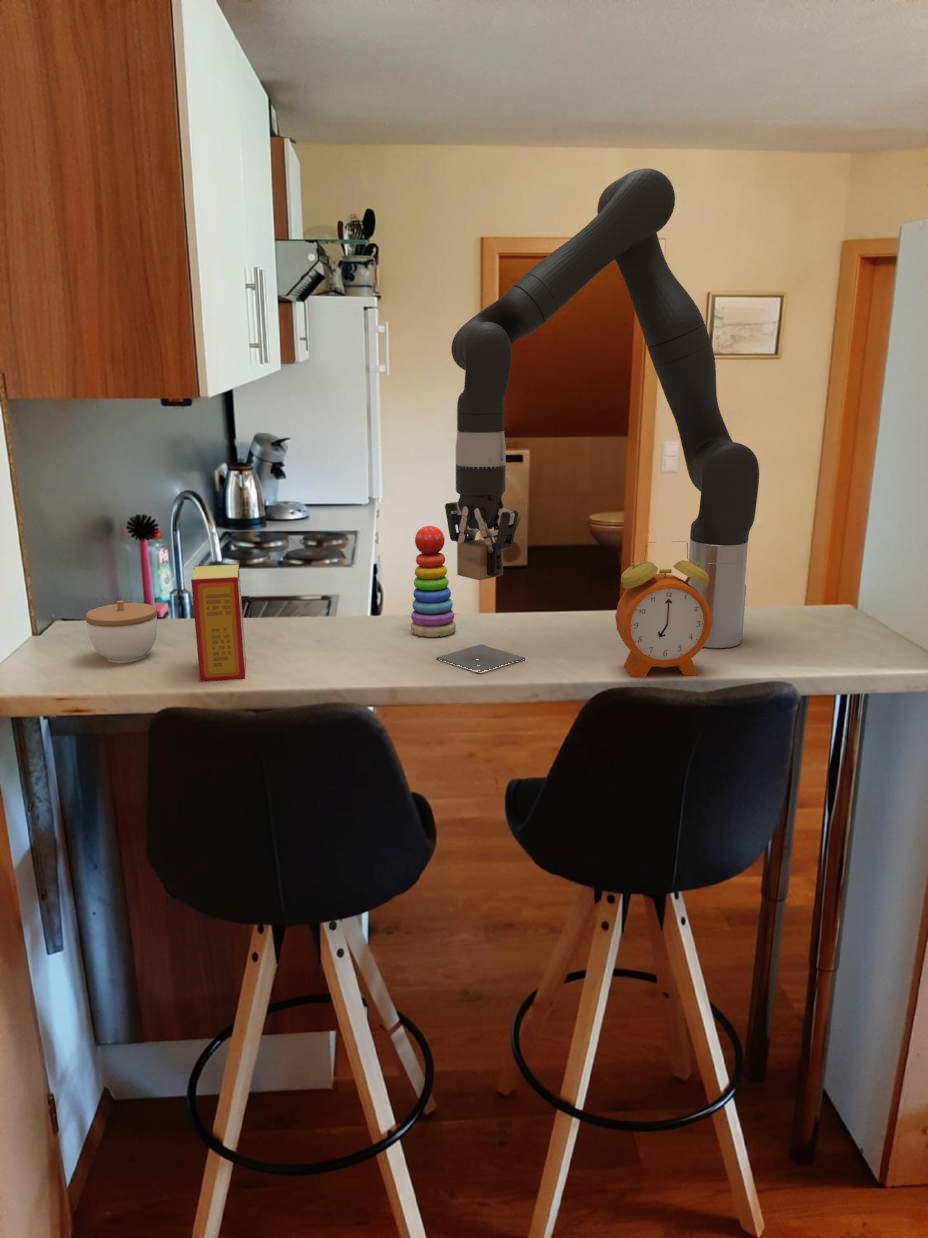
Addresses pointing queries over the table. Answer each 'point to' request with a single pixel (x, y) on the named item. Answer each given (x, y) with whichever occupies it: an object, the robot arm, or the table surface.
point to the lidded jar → (122, 630)
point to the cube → (474, 560)
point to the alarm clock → (662, 617)
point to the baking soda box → (219, 622)
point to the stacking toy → (431, 587)
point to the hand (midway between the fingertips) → (480, 572)
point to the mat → (480, 657)
